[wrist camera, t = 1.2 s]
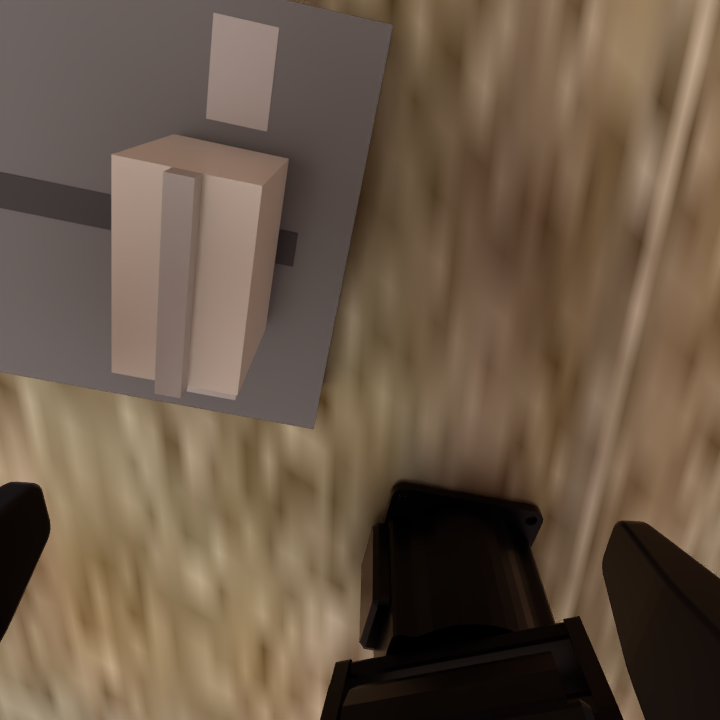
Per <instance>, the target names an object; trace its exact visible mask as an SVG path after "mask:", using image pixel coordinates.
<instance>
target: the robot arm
mask: <svg viewBox="0 0 720 720" xmlns="http://www.w3.org/2000/svg"><path fill="white" fill-rule="evenodd" d="M400 494H408V495H407V496H405V497H402V496H399V495H400ZM529 516H533V517H532V518H529V519H527V517H529ZM542 523H543V517H542V514H541V512H540V509H539V508H538V507H536V506H534V505H529V504H523V503H517V502H512V501H506V500H501V499H495V498H489V497H484V496H478V495H472V494H467V493H461V492H455V491H450V490H444V489H439V488H433V487H427V486H422V485H416V484H410V483H399V484H396V485H395V486H394V487H393V489H392V491H391V494H390V498H389V501H388V504H387V508H386V511H385V515H384V518H383V522H382V523H377V524H375V525H374V526H373V527H372V531H371V534H370V538H369V541H368V545H367V548H366V552H365V555H364V559H363V563H362V571H361V605H360V638H359V642H360V643H361V645H362V646H363V648H364V649H369V650H374V658H370V659H365V660H360V661H355V662H352V660H351V659H350V660H345V661H339V662H336V664H335V668H334V671H333V675H332V679H331V683H330V685H329V688H328V692H327V695H326V699H325V703H324V707H323V711H322V715H321V718H320V720H623V718H622V715H621V713H620V710H619V708H618V705H617V703H616V701H615V698H614V696H613V694H612V691H611V689H610V687H609V684H608V682H607V680H606V677H605V675H604V673H603V670H602V668H601V666H600V663H599V661H598V659H597V656H596V654H595V652H594V649H593V647H592V645H591V642H590V640H589V638H588V635H587V633H586V631H585V628H584V626H583V624H582V621H581V619H580V617H579V616H577V617H572V618H567V619H563V620H564V622H562V623H556V624H555V621H554V618H553V615H552V612H551V609H550V606H549V603H548V599H547V596H546V593H545V590H544V587H543V584H542V581H541V578H540V575H539V572H538V568H537V565H536V562H535V559H534V556H533V553H532V550H531V546H532V544H533V542H534V540H535V538H536V536H537V533H538V531H539V529H540V527H541V525H542ZM49 534H50V519H49V515H48V511H47V507H46V503H45V499H44V495H43V491H42V489H41V487H40V486H39V485H38V484H35V483H27V482H10V483H7V484H5V485H3V486H1V487H0V642H1V640H2V638H3V636H4V634H5V633H6V631H7V629H8V627H9V625H10V622H11V620H12V618H13V616H14V614H15V612H16V610H17V607H18V605H19V603H20V601H21V598H22V596H23V594H24V592H25V590H26V587H27V585H28V583H29V581H30V578H31V576H32V574H33V572H34V569H35V567H36V565H37V563H38V560H39V558H40V556H41V554H42V551H43V549H44V547H45V545H46V543H47V540H48V538H49ZM602 569H603V576H604V580H605V584H606V588H607V592H608V596H609V600H610V604H611V608H612V612H613V616H614V620H615V624H616V627H617V631H618V635H619V639H620V643H621V647H622V651H623V655H624V659H625V662H626V666H627V669H628V673H629V676H630V678H631V681H632V684H633V687H634V690H635V693H636V696H637V698H638V701H639V704H640V707H641V709H642V712H643V715H644V717H645V720H720V578H719V577H717V576H716V575H715V574H713V573H712V572H711V571H709V570H708V569H707V568H705V567H704V566H703V565H702V564H700V563H699V562H698V561H696V560H695V559H694V558H692V557H691V556H690V555H688V554H687V553H686V552H684V551H683V550H682V549H680V548H679V547H678V546H676V545H675V544H674V543H673V542H671V541H670V540H669V539H667V538H666V537H665V536H663V535H662V534H661V533H659V532H658V531H657V530H655V529H654V528H653V527H651V526H650V525H649V524H647V523H645V522H640V521H624V520H622V521H618V522H617V523H616V524H615V526H614V528H613V531H612V533H611V536H610V539H609V542H608V545H607V548H606V551H605V554H604V557H603V562H602Z"/></svg>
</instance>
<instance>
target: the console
mask: <svg viewBox="0 0 720 720" xmlns="http://www.w3.org/2000/svg"><path fill="white" fill-rule="evenodd" d="M392 29H393V25H391V24H387V23H383V22H378V21H374V20H370V19H365V18H361V17H357V16H353V15H348V14H344V13H340V12H335V11H331V10H327V9H323V8H318V7H314V6H310V5H305V4H301V3H297V2H293V1H288V0H0V372H2V373H8V374H13V375H19V376H24V377H30V378H35V379H41V380H46V381H52V382H57V383H63V384H68V385H74V386H79V387H85V388H90V389H96V390H101V391H106V392H112V393H117V394H123V395H128V396H134V397H139V398H145V399H150V400H156V401H161V402H167V403H172V404H178V405H183V406H189V407H194V408H200V409H205V410H211V411H216V412H222V413H227V414H233V415H238V416H244V417H249V418H255V419H260V420H266V421H271V422H277V423H282V424H288V425H293V426H299V427H304V428H310V429H314V424H315V419H316V414H317V409H318V403H319V398H320V393H321V388H322V383H323V378H324V373H325V368H326V363H327V358H328V353H329V348H330V343H331V338H332V333H333V328H334V322H335V317H336V312H337V307H338V302H339V297H340V292H341V287H342V282H343V277H344V272H345V267H346V262H347V257H348V252H349V246H350V241H351V236H352V231H353V226H354V221H355V216H356V211H357V206H358V201H359V196H360V191H361V186H362V181H363V176H364V170H365V165H366V160H367V155H368V150H369V145H370V140H371V135H372V130H373V125H374V120H375V115H376V110H377V105H378V100H379V95H380V89H381V84H382V79H383V74H384V69H385V64H386V59H387V54H388V49H389V44H390V39H391V34H392ZM173 134H176V135H181V136H186V137H190V138H195V139H200V140H204V141H209V142H214V143H218V144H223V145H228V146H232V147H237V148H242V149H246V150H251V151H256V152H260V153H265V154H270V155H274V156H279V157H284V158H288V159H289V162H288V170H287V177H286V184H285V192H284V199H283V206H282V214H281V221H280V228H279V235H278V243H277V250H276V257H275V265H274V272H273V279H272V286H271V294H270V301H269V308H268V316H267V323H266V330H265V332H264V334H263V337H262V339H261V341H260V344H259V346H258V348H257V351H256V353H255V356H254V358H253V360H252V363H251V365H250V367H249V370H248V372H247V374H246V377H245V379H244V381H243V384H242V386H241V388H240V391H239V393H238V396H237V395H231V394H226V393H220V392H215V391H209V390H204V389H199V388H193V387H188V386H187V388H186V390H185V392H184V393H183V395H182V397H181V398H176V397H170V396H165V395H159V394H154V388H155V380H150V379H144V378H139V377H133V376H128V375H123V374H117V373H112V360H111V154H114V153H117V152H120V151H123V150H126V149H129V148H132V147H136V146H139V145H142V144H145V143H148V142H151V141H154V140H157V139H160V138H164V137H167V136H170V135H173Z"/></svg>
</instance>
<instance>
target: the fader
mask: <svg viewBox="0 0 720 720" xmlns="http://www.w3.org/2000/svg"><path fill="white" fill-rule="evenodd" d="M288 162H289V159H288V158H284V157H279V156H274V155H270V154H265V153H260V152H256V151H251V150H246V149H242V148H237V147H232V146H228V145H223V144H218V143H214V142H209V141H204V140H200V139H195V138H190V137H186V136H181V135H176V134H173V135H170V136H167V137H164V138H160V139H157V140H154V141H151V142H148V143H145V144H142V145H139V146H136V147H132V148H129V149H126V150H123V151H120V152H117V153H114V154H111V360H112V373H117V374H123V375H128V376H133V377H139V378H144V379H150V380H155V388H154V394H159V395H165V396H170V397H176V398H181V397H182V395H183V393H184V392H185V390H186V388H187V386H188V387H193V388H199V389H204V390H209V391H215V392H220V393H226V394H231V395H237V396H238V393H239V391H240V388H241V386H242V384H243V381H244V379H245V377H246V374H247V372H248V370H249V367H250V365H251V363H252V360H253V358H254V356H255V353H256V351H257V348H258V346H259V344H260V341H261V339H262V337H263V334H264V332H265V330H266V323H267V316H268V308H269V301H270V294H271V286H272V279H273V272H274V265H275V257H276V250H277V243H278V235H279V228H280V221H281V214H282V206H283V199H284V192H285V184H286V177H287V170H288Z"/></svg>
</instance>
